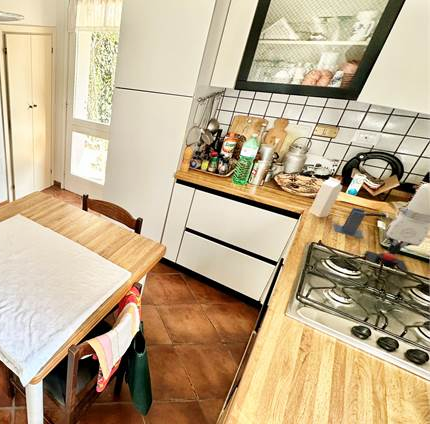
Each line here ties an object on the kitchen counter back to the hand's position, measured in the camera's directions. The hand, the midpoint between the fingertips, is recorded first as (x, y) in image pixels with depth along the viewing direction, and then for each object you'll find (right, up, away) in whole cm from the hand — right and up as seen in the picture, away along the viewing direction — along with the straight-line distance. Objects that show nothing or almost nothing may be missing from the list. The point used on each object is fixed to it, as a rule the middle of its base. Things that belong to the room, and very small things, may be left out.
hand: (391, 252), depth 128 cm
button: (0, -3, +1) cm, 3 cm away
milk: (+4, +15, +41) cm, 44 cm away
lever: (+10, +15, +18) cm, 25 cm away
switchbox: (0, -6, +3) cm, 7 cm away
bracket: (+6, +7, +26) cm, 27 cm away
